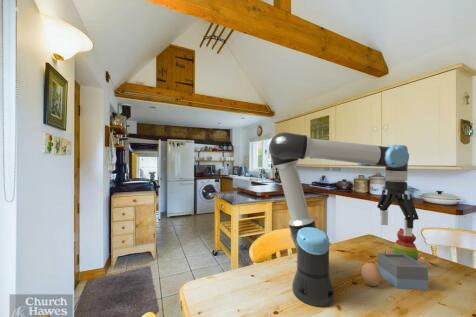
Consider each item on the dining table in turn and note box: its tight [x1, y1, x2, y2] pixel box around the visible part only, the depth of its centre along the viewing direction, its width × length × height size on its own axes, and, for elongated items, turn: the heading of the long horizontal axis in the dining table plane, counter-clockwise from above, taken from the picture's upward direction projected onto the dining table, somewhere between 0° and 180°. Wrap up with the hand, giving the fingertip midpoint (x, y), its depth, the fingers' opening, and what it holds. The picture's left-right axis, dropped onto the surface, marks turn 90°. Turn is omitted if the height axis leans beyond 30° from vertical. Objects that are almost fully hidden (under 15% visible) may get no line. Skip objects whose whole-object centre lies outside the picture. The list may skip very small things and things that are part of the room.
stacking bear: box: [392, 228, 419, 261], centre depth 98 cm, size 11×10×18 cm
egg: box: [360, 262, 382, 287], centre depth 82 cm, size 7×7×9 cm
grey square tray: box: [377, 252, 429, 291], centre depth 86 cm, size 12×12×9 cm
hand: (395, 230), depth 86 cm, fingers open, 13 cm apart
